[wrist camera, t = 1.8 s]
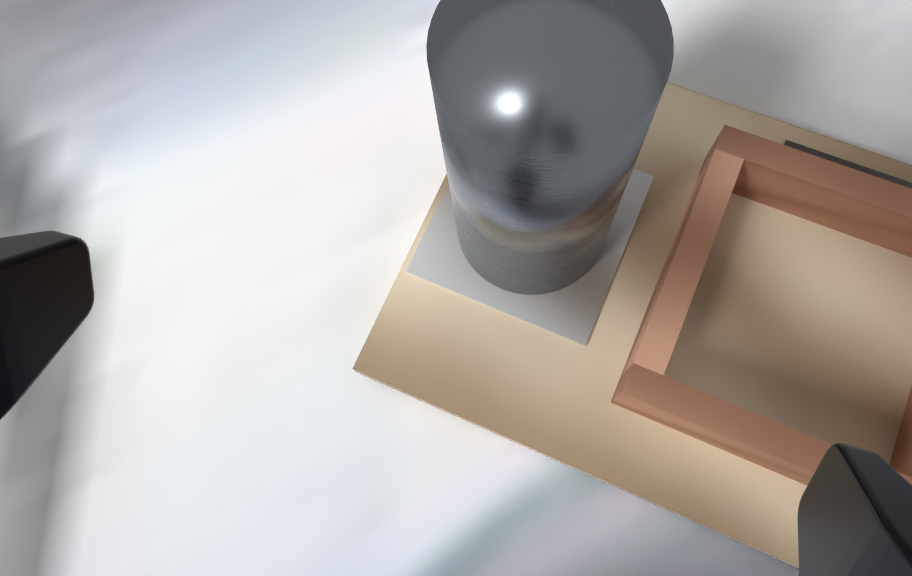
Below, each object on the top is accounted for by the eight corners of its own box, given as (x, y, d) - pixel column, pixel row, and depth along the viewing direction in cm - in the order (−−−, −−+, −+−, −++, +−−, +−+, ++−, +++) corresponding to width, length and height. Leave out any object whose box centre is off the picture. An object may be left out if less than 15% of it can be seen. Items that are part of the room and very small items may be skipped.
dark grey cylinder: (573, 317, 20) (622, 191, 12) (432, 261, 21) (386, 103, 13) (627, 186, 22) (707, -16, 13) (492, 136, 22) (484, -86, 14)
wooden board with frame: (893, 610, 19) (954, 627, 16) (356, 372, 21) (337, 354, 19) (1001, 209, 21) (1067, 170, 19) (515, 42, 24) (516, -11, 21)
